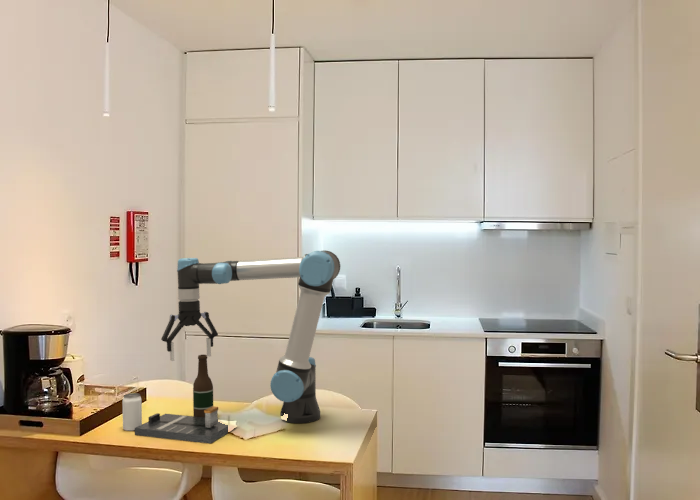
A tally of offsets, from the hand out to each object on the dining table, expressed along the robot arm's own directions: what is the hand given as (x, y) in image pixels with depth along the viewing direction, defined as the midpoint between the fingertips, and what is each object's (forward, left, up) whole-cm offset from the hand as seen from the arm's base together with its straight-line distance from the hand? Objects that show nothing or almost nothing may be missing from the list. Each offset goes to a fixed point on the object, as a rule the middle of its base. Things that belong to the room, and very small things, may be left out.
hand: (190, 358), depth 229 cm
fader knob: (-13, +8, -21) cm, 26 cm away
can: (+17, +11, -24) cm, 32 cm away
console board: (-3, +8, -24) cm, 26 cm away
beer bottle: (-1, -7, -24) cm, 25 cm away
